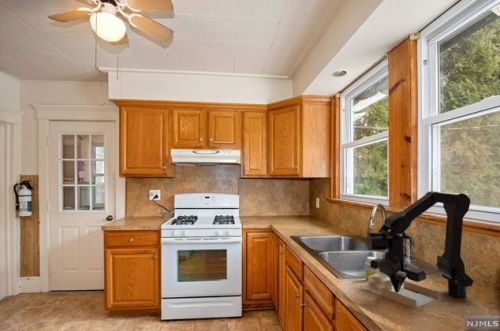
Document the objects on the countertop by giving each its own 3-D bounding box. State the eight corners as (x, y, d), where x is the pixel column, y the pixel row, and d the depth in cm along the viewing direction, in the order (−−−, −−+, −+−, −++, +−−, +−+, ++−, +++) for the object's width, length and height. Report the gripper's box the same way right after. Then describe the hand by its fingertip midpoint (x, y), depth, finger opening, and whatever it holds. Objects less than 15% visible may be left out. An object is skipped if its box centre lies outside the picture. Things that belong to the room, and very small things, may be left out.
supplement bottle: (374, 279, 120) (374, 255, 121) (382, 283, 115) (381, 259, 115) (363, 279, 120) (362, 256, 120) (369, 284, 114) (369, 260, 115)
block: (368, 286, 108) (368, 276, 108) (376, 284, 111) (375, 274, 111) (385, 292, 102) (384, 282, 102) (392, 290, 105) (392, 279, 105)
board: (438, 301, 98) (438, 290, 98) (415, 313, 90) (414, 301, 90) (386, 283, 115) (386, 274, 115) (362, 291, 107) (362, 281, 107)
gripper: (360, 247, 106) (361, 288, 105) (409, 260, 90) (410, 307, 89) (378, 244, 112) (379, 282, 111) (426, 255, 96) (427, 299, 95)
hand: (396, 292), depth 101 cm, fingers closed
